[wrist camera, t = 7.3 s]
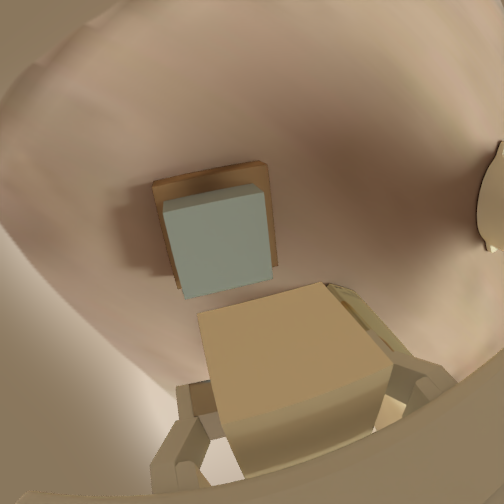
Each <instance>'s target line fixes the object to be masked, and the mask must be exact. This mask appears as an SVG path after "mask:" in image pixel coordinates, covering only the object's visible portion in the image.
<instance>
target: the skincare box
mask: <svg viewBox="0 0 504 504" xmlns="http://www.w3.org/2000/svg"><path fill="white" fill-rule="evenodd" d="M327 289H328V290H329V291H330V292H331V293H332V294H333V295H334V296H335V297H336V299H337V300H338V301H339V302H340V303H341V304H342V305H343V306H344V308H345V309H346V310H347V311H348V312H349V313H350V314H351V315H352V317H353V318H354V319H355V320H356V321H357V322H358V323H359V324H360V326H361V327H362V328H363V329H364V330H365V331H367V330H370V329H371V330H373V331H374V332H375V333H376V334H377V335H378V336H379V337H380V338H381V339H382V341H383V342H384V343H385V344H386V345H387V346H388V347H389V348H390V349H391V350H392V352H394V351H398V352H401V353H404V354H407V355H410V356H413V355H412V354H411V353H410V352H409V351H408V350H407V348H406V347H405V346H404V345H403V344H402V343H401V342H400V340H399V339H398V338H397V337H396V336H395V335H394V334H393V333H392V331H391V330H390V329H389V328H388V327H387V326H386V325H385V324H384V323H383V321H382V320H381V319H380V318H379V317H378V316H377V315H376V314H375V313H374V312H373V311H372V309H371V308H370V307H369V306H368V305H367V304H366V303H365V302H364V301H363V300H362V299H361V298H360V296H359V295H358V294H357V293H356V292H355V291H353V290H350V289H347V288H344V287H341V286H337V285H333V284H328V286H327ZM413 357H414V356H413Z"/></svg>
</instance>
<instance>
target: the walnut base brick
mask: <svg viewBox="0 0 504 504" xmlns="http://www.w3.org/2000/svg"><path fill="white" fill-rule="evenodd" d="M251 183H253V184H254V185H256V186H257V187H258V188H259V189H261V190H262V191H263V192H264V198H265V207H266V216H267V225H268V234H269V244H270V253H271V263H272V267H275V266H278V260H277V250H276V239H275V230H274V220H273V210H272V201H271V192H270V183H269V174H268V165H267V164H265V163H263V162H261V161H252V162H246V163H240V164H235V165H229V166H224V167H218V168H213V169H208V170H203V171H198V172H193V173H188V174H183V175H179V176H174V177H170V178H165V179H161V180H157V181H154V182H153V185H152V190H153V195H154V199H155V204H156V208H157V212H158V216H159V220H160V225H161V229H162V233H163V237H164V241H165V244H166V248H167V252H168V256H169V260H170V263H171V267H172V270H173V274H174V278H175V281H176V285H177V288H178V289H181V288H182V287H181V283H180V280H179V276H178V272H177V269H176V265H175V261H174V257H173V253H172V249H171V245H170V241H169V237H168V233H167V229H166V225H165V221H164V216H163V202H164V201H167V200H172V199H176V198H181V197H185V196H190V195H195V194H200V193H204V192H209V191H214V190H219V189H224V188H230V187H235V186H240V185H246V184H251Z"/></svg>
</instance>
